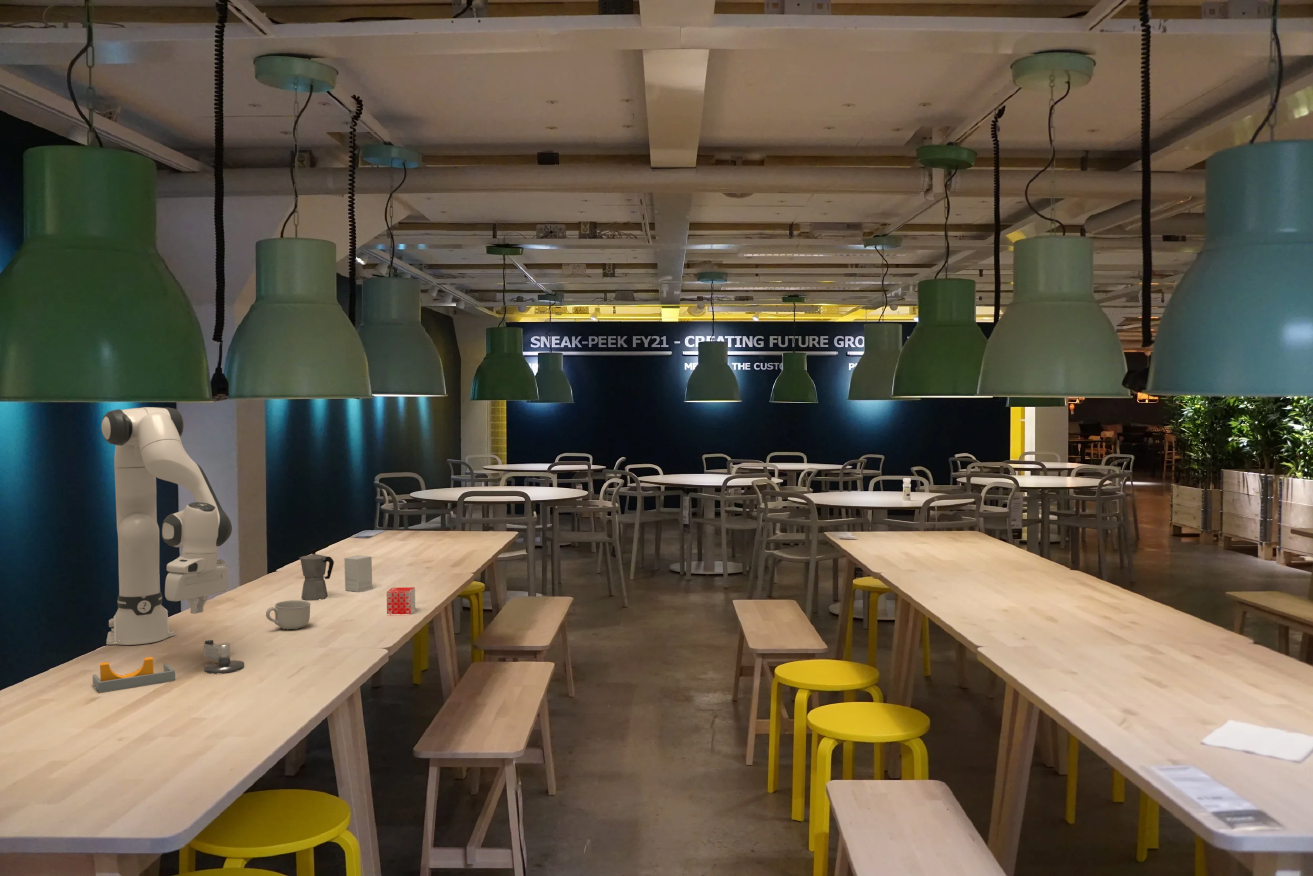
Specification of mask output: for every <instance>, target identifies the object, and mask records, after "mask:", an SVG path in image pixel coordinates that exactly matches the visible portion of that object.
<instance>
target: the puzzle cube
mask: <svg viewBox="0 0 1313 876" xmlns="http://www.w3.org/2000/svg"><path fill="white" fill-rule="evenodd" d="M414 610H415V611H416V587H413V586H411V587H410V586H409V587H408V586H407V587H391V588H389V590H387V591H386V615H387V614H411V613H412V612H413V611H414ZM415 611H414V612H415ZM414 612H413V613H414ZM413 613H412V614H413ZM412 614H411V615H412Z"/></svg>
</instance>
